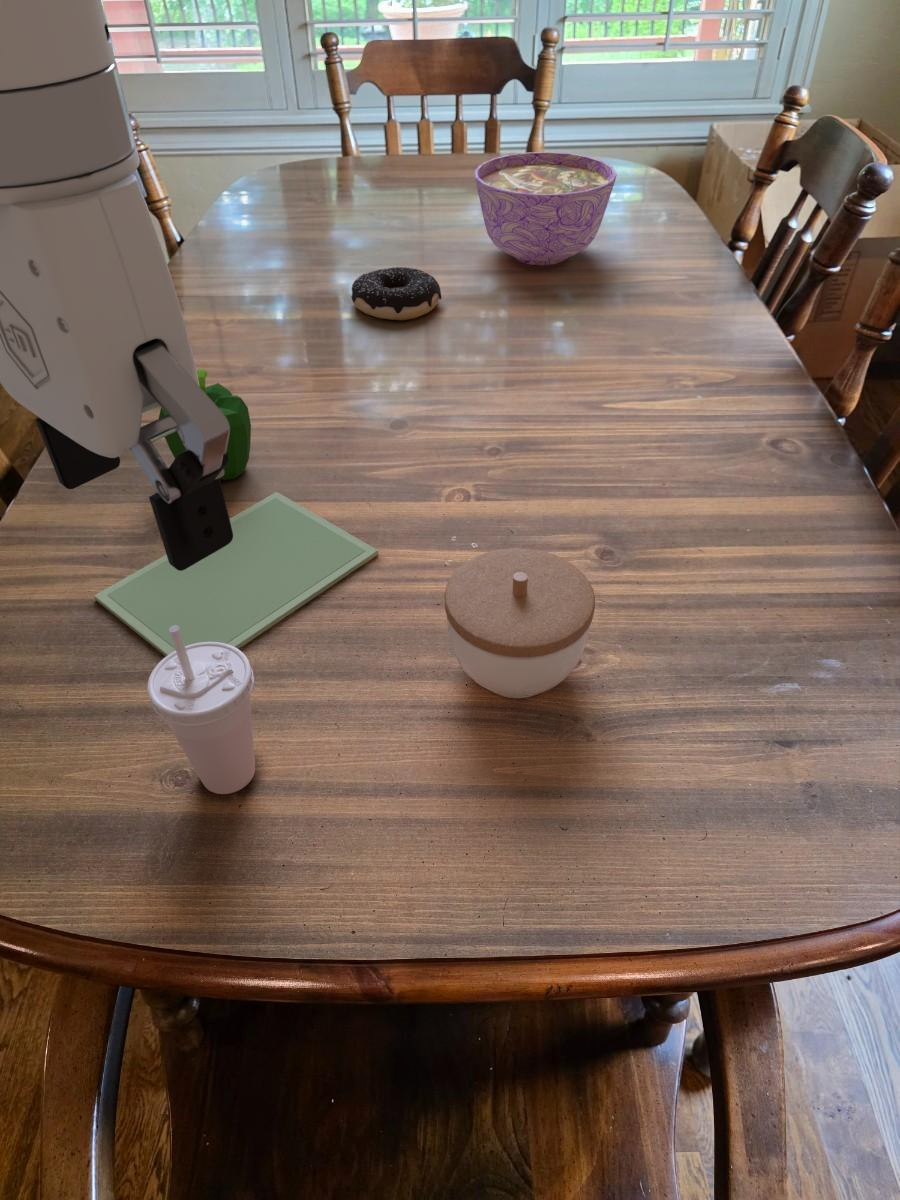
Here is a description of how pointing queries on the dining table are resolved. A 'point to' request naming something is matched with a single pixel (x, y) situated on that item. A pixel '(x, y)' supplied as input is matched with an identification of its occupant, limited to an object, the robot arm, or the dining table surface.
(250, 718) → the smoothie
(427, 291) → the donut
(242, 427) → the bell pepper
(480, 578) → the trinket box
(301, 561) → the placemat
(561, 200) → the bowl of food
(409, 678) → the dining table surface
